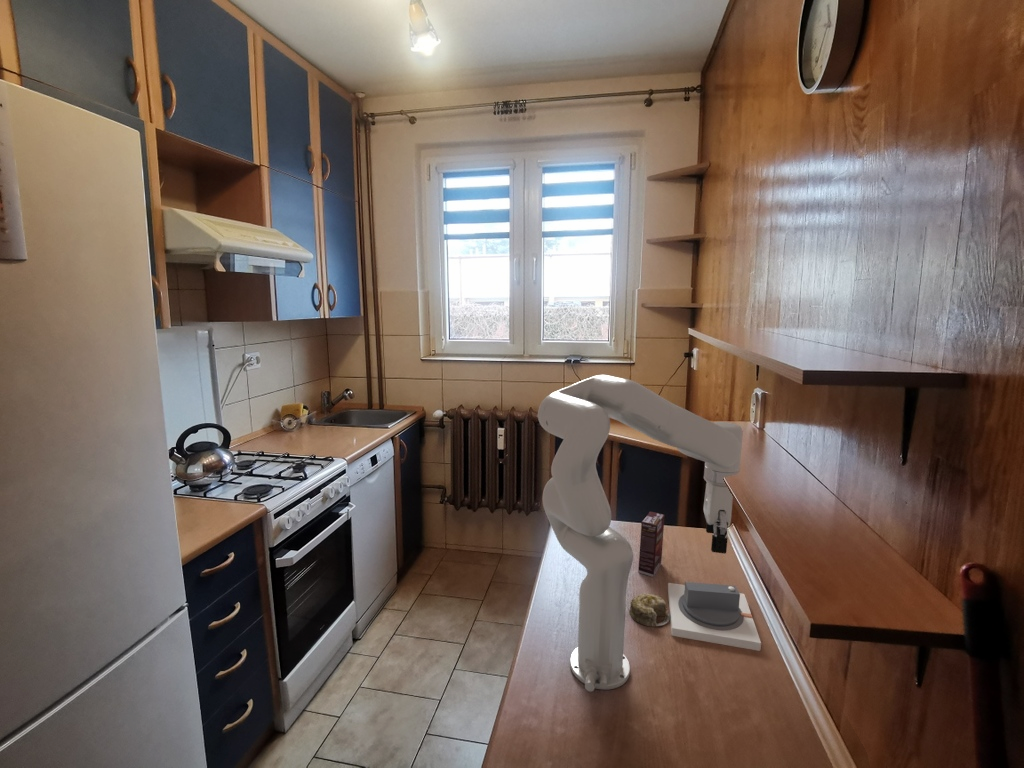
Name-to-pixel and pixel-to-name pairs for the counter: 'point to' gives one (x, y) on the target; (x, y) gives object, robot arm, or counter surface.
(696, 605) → the dial
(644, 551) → the supplement box
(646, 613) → the cake
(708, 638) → the dial plate
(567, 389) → the robot arm
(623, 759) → the counter surface
